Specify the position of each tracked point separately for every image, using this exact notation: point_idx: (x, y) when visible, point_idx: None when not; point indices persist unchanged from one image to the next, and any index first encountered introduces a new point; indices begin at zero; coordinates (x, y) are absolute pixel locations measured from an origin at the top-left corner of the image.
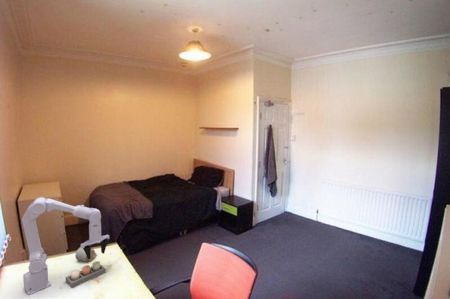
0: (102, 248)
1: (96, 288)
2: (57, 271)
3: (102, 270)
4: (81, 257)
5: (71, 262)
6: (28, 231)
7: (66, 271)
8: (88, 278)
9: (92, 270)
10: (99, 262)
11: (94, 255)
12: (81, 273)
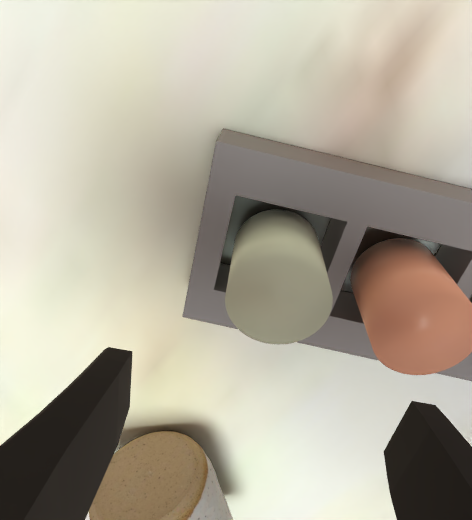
0: (82, 478)
1: None
2: (390, 501)
3: (267, 152)
4: (222, 510)
5: (257, 510)
6: None
7: (367, 459)
8: (444, 190)
9: None
10: (242, 274)
11: (113, 457)
12: None
